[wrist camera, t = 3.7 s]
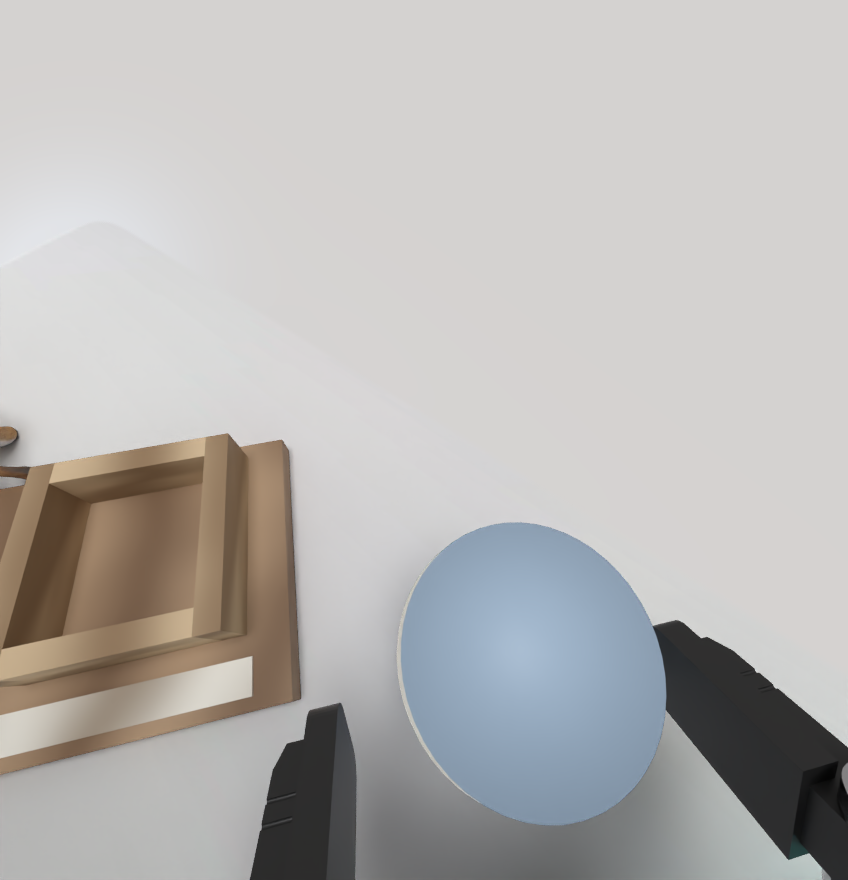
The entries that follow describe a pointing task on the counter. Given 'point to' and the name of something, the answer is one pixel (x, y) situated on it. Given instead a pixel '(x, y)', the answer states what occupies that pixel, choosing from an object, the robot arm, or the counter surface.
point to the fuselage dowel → (531, 674)
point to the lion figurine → (5, 437)
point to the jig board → (144, 596)
